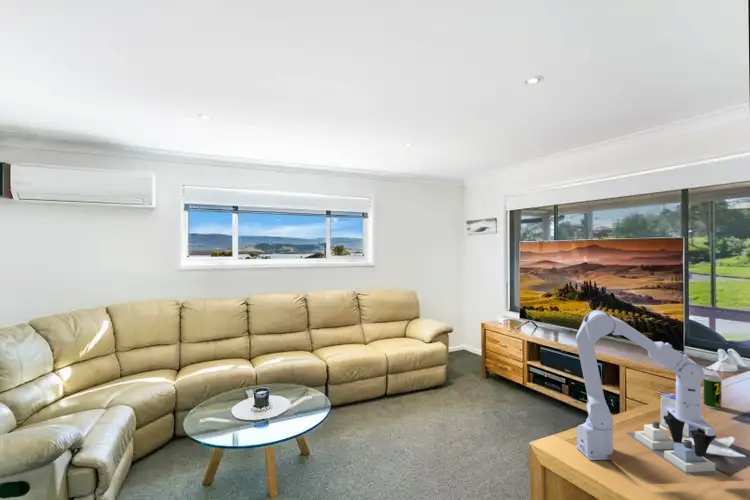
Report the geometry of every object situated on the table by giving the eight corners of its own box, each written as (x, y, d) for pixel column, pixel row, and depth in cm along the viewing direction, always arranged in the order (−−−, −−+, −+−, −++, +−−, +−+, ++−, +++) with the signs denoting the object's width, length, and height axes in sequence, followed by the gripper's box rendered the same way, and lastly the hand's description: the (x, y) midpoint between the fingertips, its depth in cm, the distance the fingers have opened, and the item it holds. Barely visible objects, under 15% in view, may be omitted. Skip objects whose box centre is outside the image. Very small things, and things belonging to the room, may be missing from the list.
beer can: (700, 405, 153) (700, 375, 153) (707, 403, 155) (706, 373, 155) (717, 410, 148) (717, 379, 148) (724, 407, 150) (723, 377, 150)
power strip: (687, 480, 104) (687, 467, 104) (625, 437, 128) (625, 426, 128) (722, 479, 105) (722, 466, 105) (654, 436, 129) (654, 425, 129)
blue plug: (685, 468, 107) (685, 445, 107) (673, 460, 111) (673, 438, 111) (702, 467, 108) (702, 444, 108) (690, 459, 112) (690, 437, 112)
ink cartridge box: (701, 439, 126) (701, 396, 126) (689, 442, 125) (689, 398, 125) (671, 426, 136) (671, 385, 136) (659, 428, 134) (659, 387, 134)
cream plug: (653, 446, 119) (653, 425, 119) (643, 439, 123) (643, 419, 123) (668, 445, 120) (668, 424, 120) (658, 439, 124) (658, 419, 124)
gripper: (725, 412, 102) (726, 462, 102) (680, 391, 117) (680, 435, 117) (700, 412, 102) (701, 463, 102) (658, 392, 117) (658, 436, 117)
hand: (688, 448), depth 110 cm, fingers open, 7 cm apart
